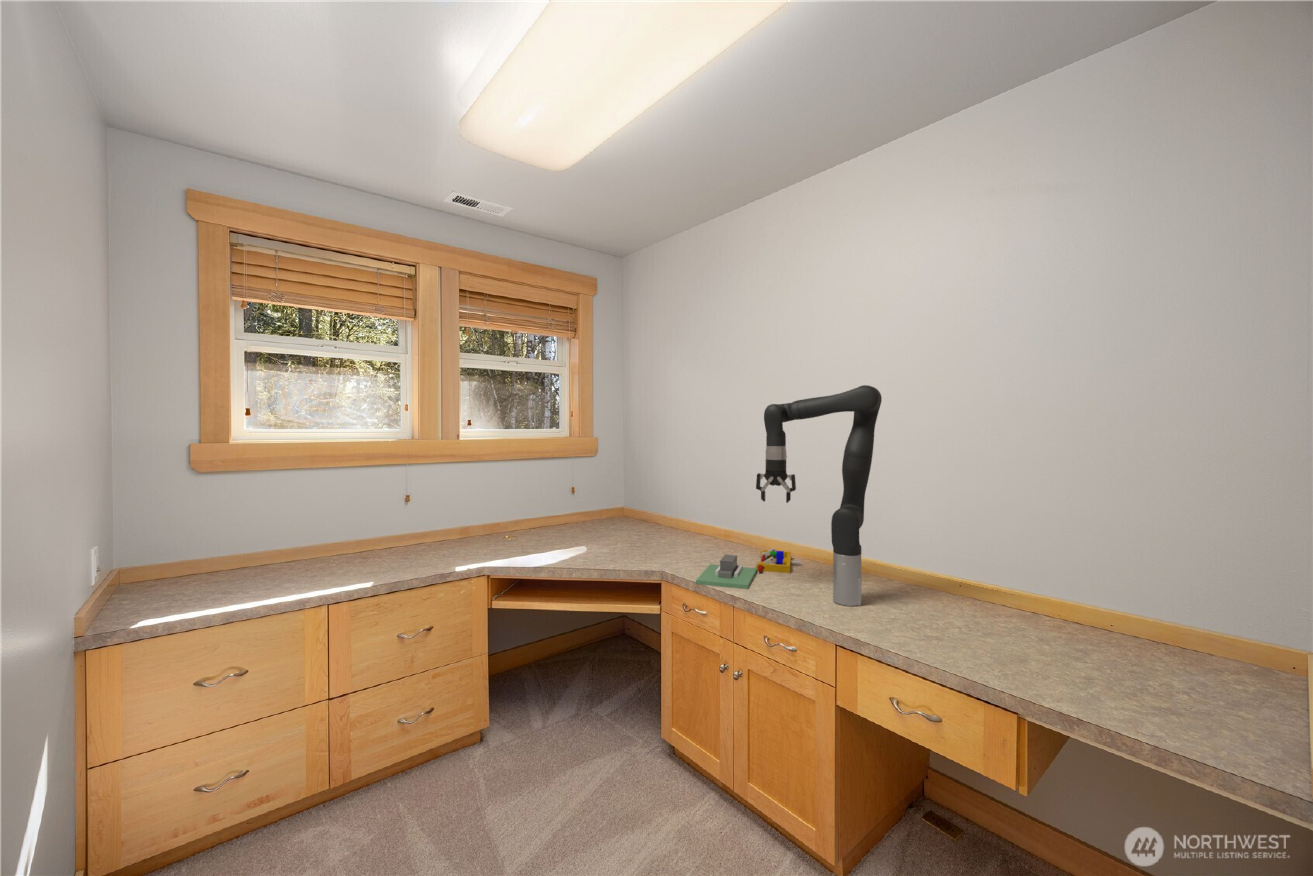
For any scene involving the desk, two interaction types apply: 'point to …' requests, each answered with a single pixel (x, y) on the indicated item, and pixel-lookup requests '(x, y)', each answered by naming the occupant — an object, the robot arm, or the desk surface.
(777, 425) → the robot arm
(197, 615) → the desk surface
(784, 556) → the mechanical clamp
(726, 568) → the grey stepped block
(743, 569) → the green plate with u-rail
